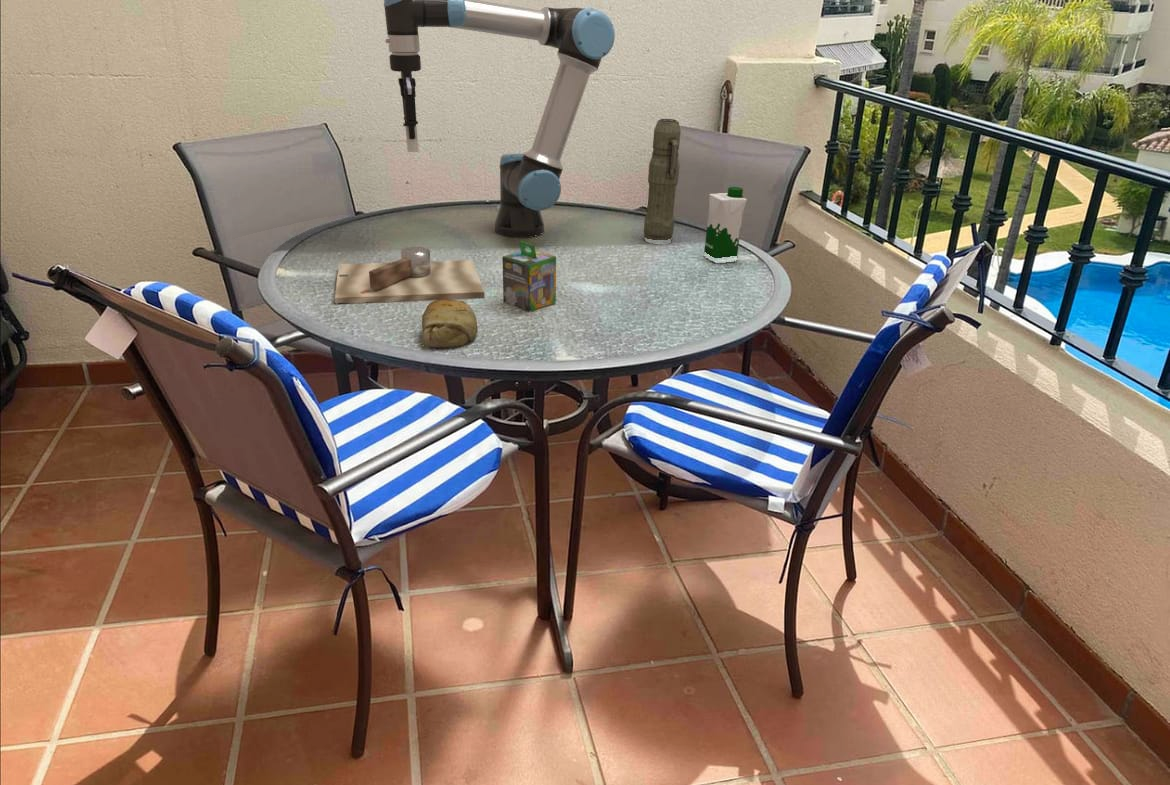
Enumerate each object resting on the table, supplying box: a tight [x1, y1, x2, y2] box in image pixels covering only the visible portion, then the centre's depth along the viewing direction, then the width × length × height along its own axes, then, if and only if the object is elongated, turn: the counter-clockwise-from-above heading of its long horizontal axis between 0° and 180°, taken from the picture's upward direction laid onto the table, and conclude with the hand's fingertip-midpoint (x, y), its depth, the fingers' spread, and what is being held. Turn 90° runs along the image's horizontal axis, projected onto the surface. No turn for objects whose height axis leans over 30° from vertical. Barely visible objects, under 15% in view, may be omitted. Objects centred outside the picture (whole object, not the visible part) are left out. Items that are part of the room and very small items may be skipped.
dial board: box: [334, 259, 485, 304], centre depth 193 cm, size 34×25×2 cm
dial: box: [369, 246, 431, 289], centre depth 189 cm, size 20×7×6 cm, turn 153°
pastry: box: [421, 298, 478, 348], centre depth 163 cm, size 14×12×8 cm
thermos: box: [643, 118, 682, 240], centre depth 230 cm, size 9×12×35 cm
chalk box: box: [502, 240, 557, 313], centre depth 182 cm, size 9×9×15 cm
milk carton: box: [703, 186, 748, 258], centre depth 218 cm, size 9×9×20 cm
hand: (413, 151), depth 205 cm, fingers closed
